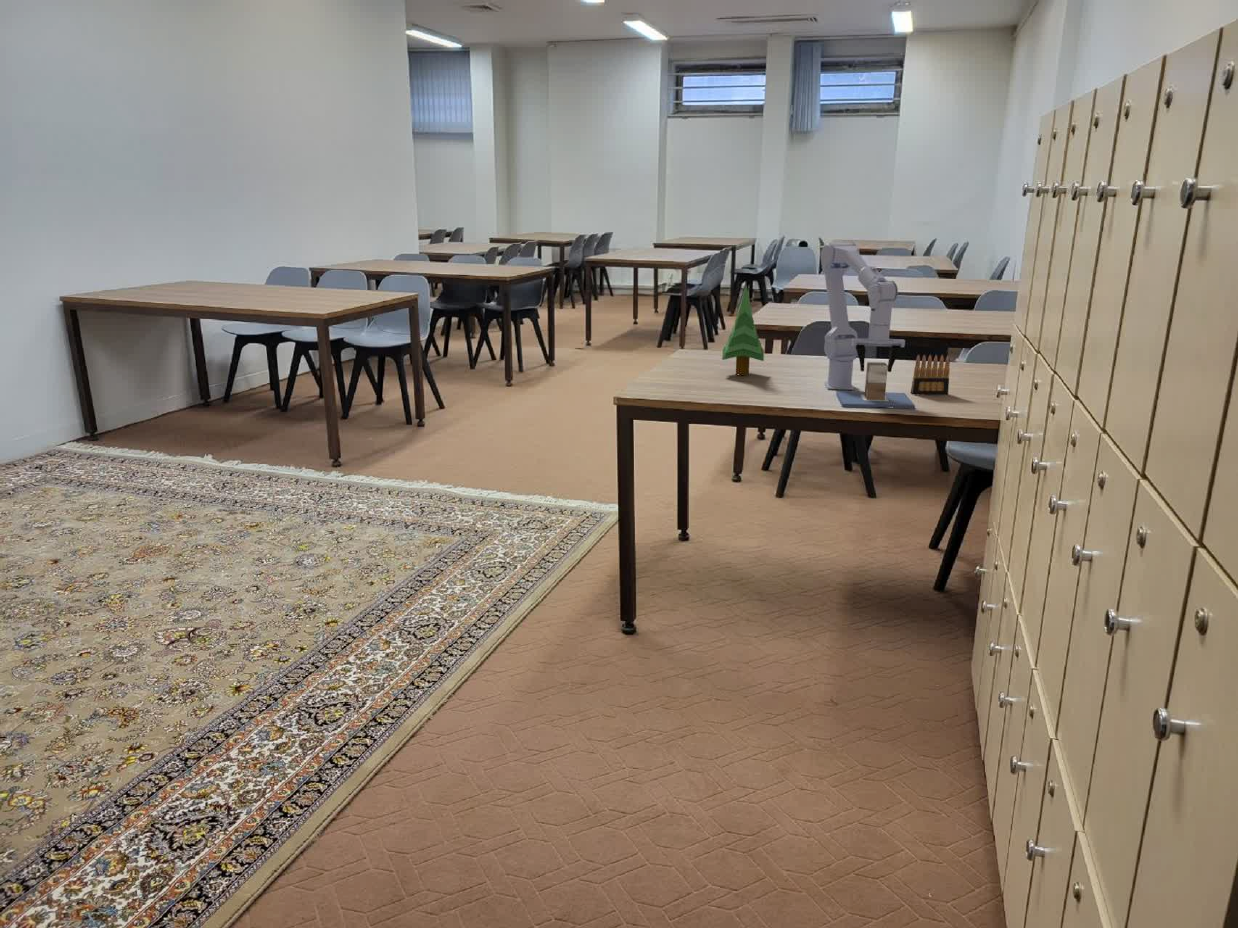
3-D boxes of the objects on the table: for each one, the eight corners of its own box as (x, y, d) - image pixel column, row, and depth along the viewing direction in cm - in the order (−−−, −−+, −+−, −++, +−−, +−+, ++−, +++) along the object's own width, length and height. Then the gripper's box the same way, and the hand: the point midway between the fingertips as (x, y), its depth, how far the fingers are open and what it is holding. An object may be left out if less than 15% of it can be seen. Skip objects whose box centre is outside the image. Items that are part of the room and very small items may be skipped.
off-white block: (865, 379, 257) (867, 362, 256) (883, 379, 256) (884, 362, 255) (868, 382, 252) (869, 365, 251) (886, 383, 252) (887, 365, 250)
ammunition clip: (912, 394, 265) (916, 355, 261) (910, 393, 267) (914, 354, 263) (948, 394, 264) (952, 355, 261) (946, 393, 266) (950, 354, 263)
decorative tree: (773, 376, 290) (778, 284, 281) (731, 380, 284) (734, 286, 275) (752, 369, 302) (756, 280, 293) (711, 372, 296) (714, 282, 287)
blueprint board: (836, 394, 265) (836, 390, 265) (904, 396, 263) (904, 392, 262) (842, 406, 250) (842, 403, 250) (914, 409, 248) (915, 405, 247)
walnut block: (864, 395, 259) (865, 379, 257) (881, 396, 258) (883, 379, 256) (866, 399, 254) (868, 382, 252) (884, 400, 253) (886, 383, 252)
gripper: (855, 326, 248) (851, 373, 252) (908, 327, 247) (903, 374, 251) (852, 322, 255) (848, 368, 259) (904, 323, 253) (899, 369, 257)
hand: (875, 371), depth 255 cm, fingers open, 7 cm apart
